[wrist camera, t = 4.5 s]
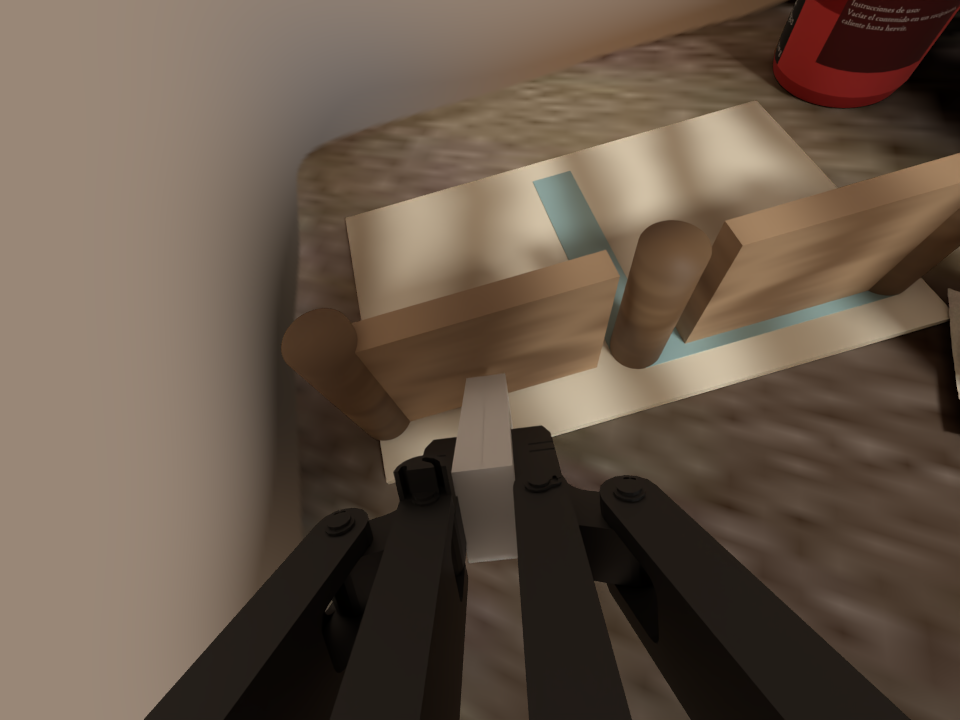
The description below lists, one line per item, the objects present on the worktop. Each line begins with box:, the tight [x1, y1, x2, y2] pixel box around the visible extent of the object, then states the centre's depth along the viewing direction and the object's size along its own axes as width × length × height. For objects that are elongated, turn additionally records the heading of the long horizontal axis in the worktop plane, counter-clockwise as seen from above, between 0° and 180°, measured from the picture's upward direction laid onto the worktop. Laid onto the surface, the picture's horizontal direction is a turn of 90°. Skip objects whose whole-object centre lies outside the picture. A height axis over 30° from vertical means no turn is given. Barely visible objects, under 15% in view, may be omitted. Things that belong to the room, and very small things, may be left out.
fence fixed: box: [610, 153, 960, 369], centre depth 18 cm, size 15×2×8 cm, turn 105°
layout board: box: [345, 100, 950, 484], centre depth 24 cm, size 27×17×1 cm, turn 105°
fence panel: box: [281, 250, 620, 441], centre depth 18 cm, size 11×2×8 cm, turn 105°
